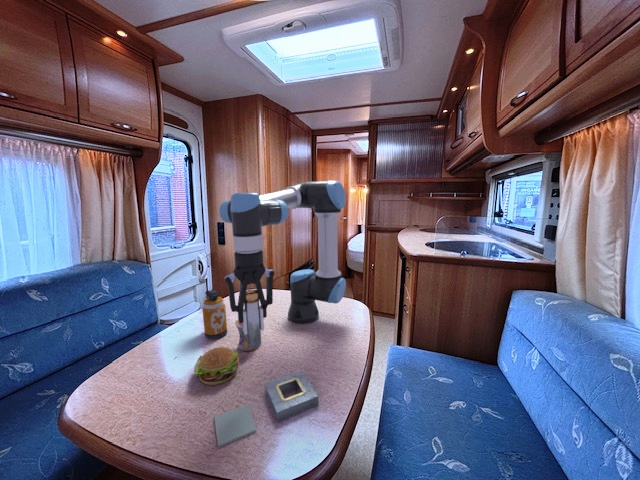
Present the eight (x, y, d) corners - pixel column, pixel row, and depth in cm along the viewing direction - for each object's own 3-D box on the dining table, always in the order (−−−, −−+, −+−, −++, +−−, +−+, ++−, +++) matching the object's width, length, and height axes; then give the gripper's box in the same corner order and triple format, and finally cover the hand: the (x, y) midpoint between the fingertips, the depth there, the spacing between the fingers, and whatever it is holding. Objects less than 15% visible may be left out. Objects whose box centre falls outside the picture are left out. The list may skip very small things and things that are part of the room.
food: (206, 360, 93) (204, 340, 92) (244, 360, 93) (243, 340, 91) (185, 388, 80) (182, 365, 78) (230, 389, 79) (228, 365, 78)
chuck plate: (301, 379, 83) (301, 370, 82) (318, 405, 72) (318, 395, 72) (265, 392, 77) (264, 382, 77) (277, 422, 67) (276, 412, 66)
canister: (209, 342, 105) (204, 296, 101) (200, 332, 113) (196, 289, 110) (230, 334, 110) (227, 290, 107) (221, 325, 119) (217, 284, 115)
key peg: (259, 339, 77) (256, 288, 74) (263, 346, 73) (260, 293, 71) (245, 342, 75) (242, 290, 73) (248, 350, 72) (244, 295, 69)
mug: (251, 355, 96) (249, 329, 94) (231, 350, 99) (229, 324, 98) (269, 339, 107) (268, 315, 105) (251, 334, 110) (249, 311, 108)
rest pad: (248, 406, 72) (248, 404, 72) (256, 431, 64) (256, 429, 64) (214, 418, 68) (214, 417, 68) (218, 447, 60) (217, 445, 60)
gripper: (275, 245, 77) (278, 318, 81) (213, 251, 69) (220, 331, 73) (282, 249, 70) (286, 329, 74) (216, 256, 63) (223, 344, 67)
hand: (253, 330), depth 74 cm, fingers closed on key peg, 4 cm apart
